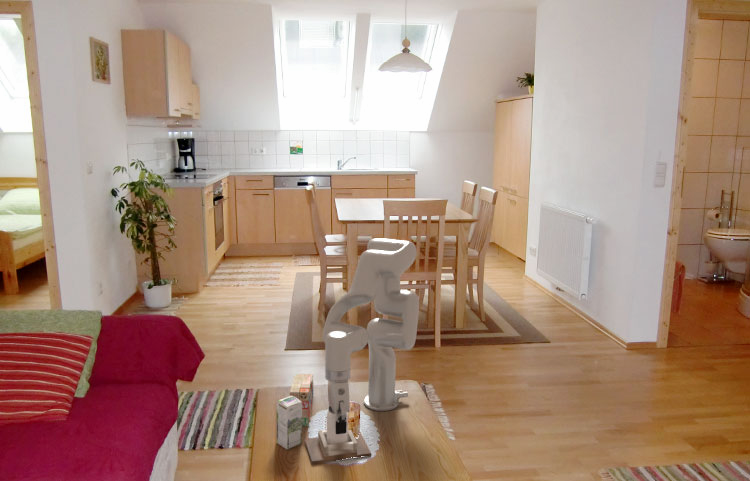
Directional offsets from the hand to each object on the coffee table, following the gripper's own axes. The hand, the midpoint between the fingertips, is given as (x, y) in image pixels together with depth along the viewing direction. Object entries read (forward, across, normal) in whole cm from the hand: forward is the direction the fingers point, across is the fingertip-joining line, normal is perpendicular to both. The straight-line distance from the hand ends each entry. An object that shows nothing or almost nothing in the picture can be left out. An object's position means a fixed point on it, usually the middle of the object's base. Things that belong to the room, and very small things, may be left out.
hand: (337, 425), depth 177 cm
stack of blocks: (+8, +27, +6) cm, 29 cm away
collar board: (+8, 0, 0) cm, 8 cm away
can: (+7, 0, 0) cm, 7 cm away
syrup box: (+8, +7, +14) cm, 17 cm away
